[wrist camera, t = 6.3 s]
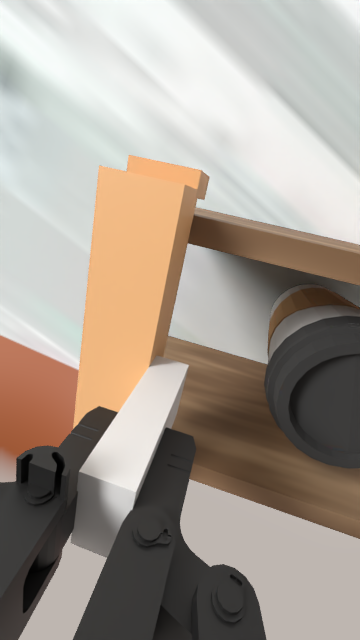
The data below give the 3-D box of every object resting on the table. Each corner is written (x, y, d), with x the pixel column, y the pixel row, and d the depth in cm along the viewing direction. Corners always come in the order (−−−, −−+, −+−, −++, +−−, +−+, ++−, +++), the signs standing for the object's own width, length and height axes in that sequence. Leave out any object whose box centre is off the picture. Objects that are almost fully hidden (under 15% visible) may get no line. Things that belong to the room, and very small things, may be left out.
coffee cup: (260, 355, 31) (266, 469, 17) (258, 274, 29) (264, 332, 15) (350, 355, 29) (439, 484, 15) (357, 268, 27) (470, 329, 13)
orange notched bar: (147, 163, 14) (101, 142, 10) (209, 177, 14) (189, 160, 10) (104, 448, 21) (65, 511, 16) (145, 462, 21) (116, 531, 16)
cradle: (194, 207, 28) (133, 201, 14) (389, 251, 26) (564, 301, 11) (165, 345, 33) (98, 447, 19) (324, 392, 31) (386, 548, 17)
